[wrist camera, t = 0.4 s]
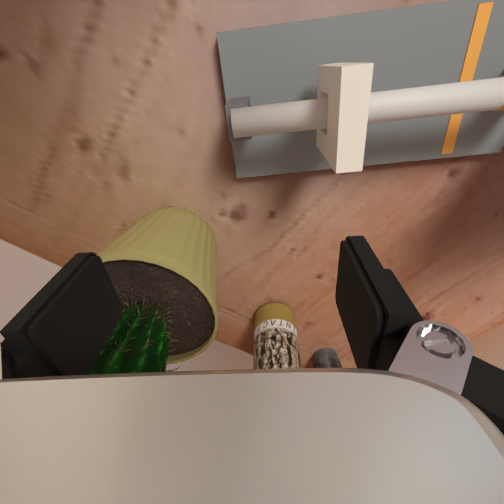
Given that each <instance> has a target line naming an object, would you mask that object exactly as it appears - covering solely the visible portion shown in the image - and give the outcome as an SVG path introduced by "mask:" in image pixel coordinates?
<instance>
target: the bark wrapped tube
mask: <svg viewBox="0 0 504 504" xmlns="http://www.w3.org/2000/svg"><path fill="white" fill-rule="evenodd" d="M282 368H302V366H301V359H300V352H299V345H298V338H297V331H296V325H295V318H294V313H293V311H292V310H291V309H290V308H289V307H288V306H287V305H285V304H282V303H277V302H272V303H267V304H265V305H263V306H261V307H260V308H259V309H258V310H257V311H256V313H255V319H254V369H282Z"/></svg>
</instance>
